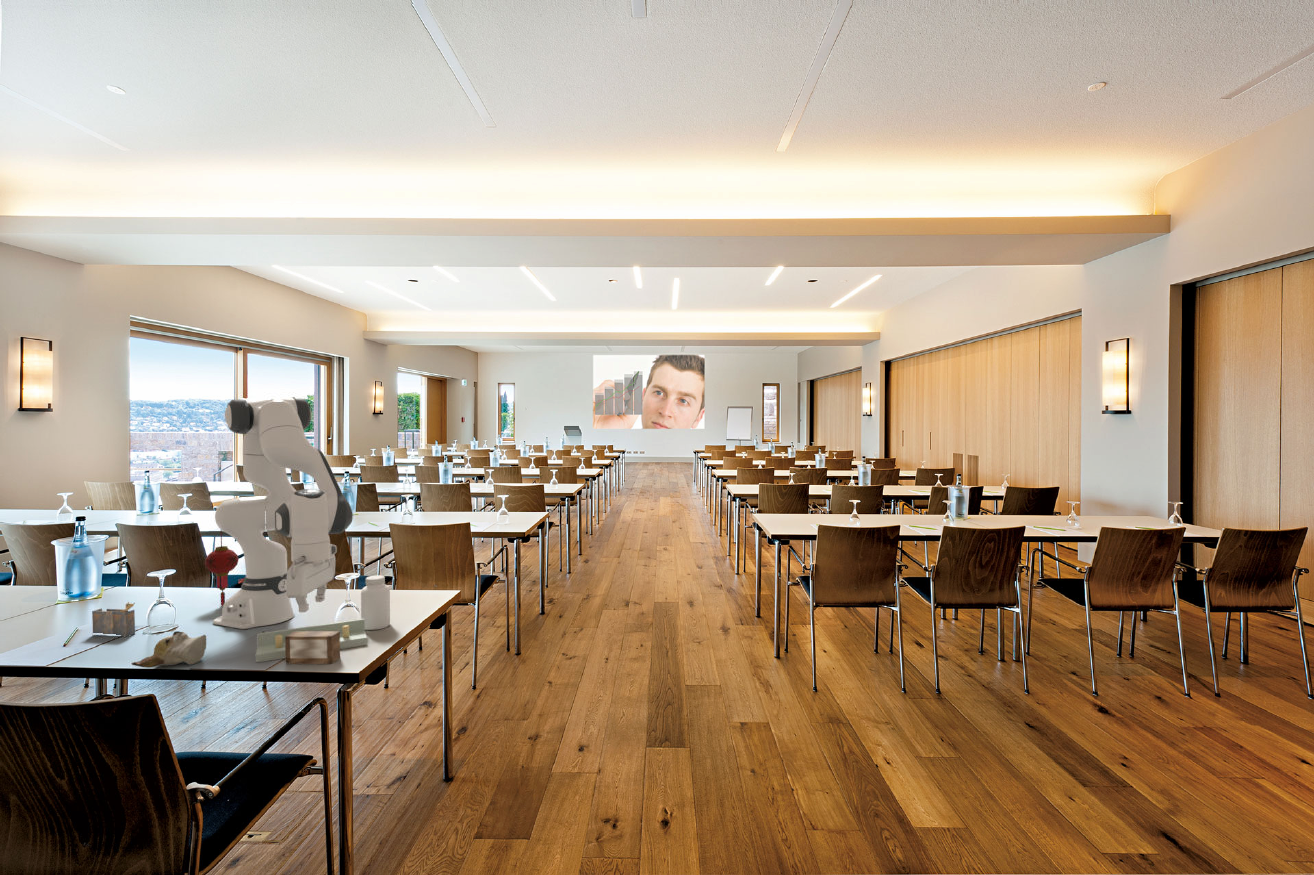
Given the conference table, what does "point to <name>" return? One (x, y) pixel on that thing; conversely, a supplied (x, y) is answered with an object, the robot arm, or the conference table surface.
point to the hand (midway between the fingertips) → (312, 606)
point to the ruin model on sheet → (114, 621)
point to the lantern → (221, 566)
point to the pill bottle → (375, 603)
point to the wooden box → (312, 647)
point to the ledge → (274, 642)
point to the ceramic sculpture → (175, 651)
